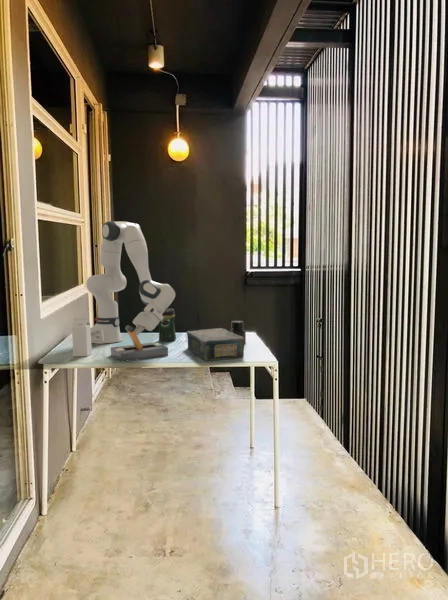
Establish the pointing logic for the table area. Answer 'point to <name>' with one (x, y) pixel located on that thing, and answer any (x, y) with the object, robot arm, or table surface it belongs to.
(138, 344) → the lever
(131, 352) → the breaker box
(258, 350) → the table surface
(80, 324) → the milk carton
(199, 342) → the metal box
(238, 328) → the ink bottle
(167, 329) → the coffee jar
